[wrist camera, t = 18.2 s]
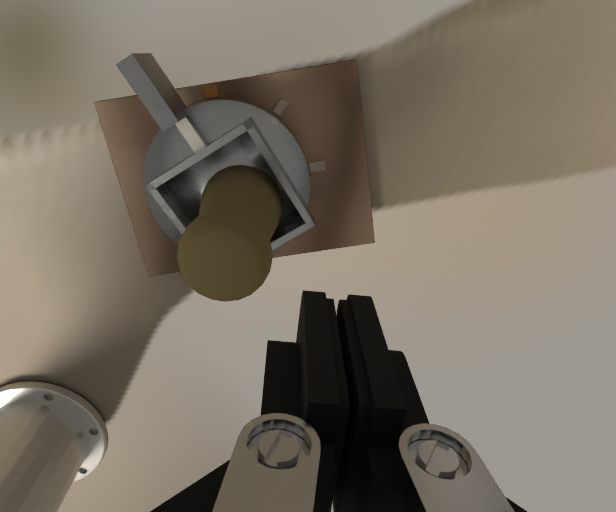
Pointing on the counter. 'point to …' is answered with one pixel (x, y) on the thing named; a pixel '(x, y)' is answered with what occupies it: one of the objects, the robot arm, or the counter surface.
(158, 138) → the grey handled box
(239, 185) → the cork
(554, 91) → the counter surface
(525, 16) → the counter surface
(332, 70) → the board
